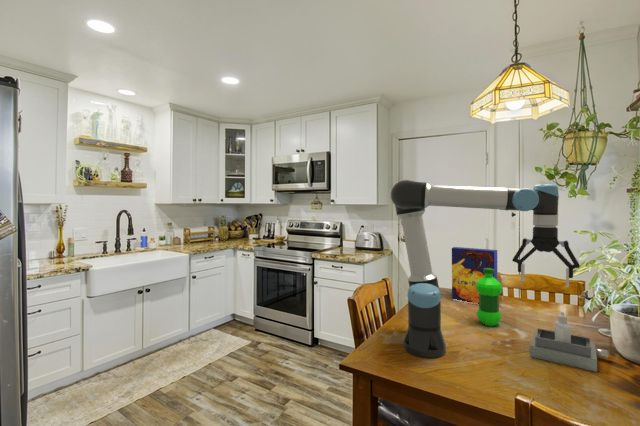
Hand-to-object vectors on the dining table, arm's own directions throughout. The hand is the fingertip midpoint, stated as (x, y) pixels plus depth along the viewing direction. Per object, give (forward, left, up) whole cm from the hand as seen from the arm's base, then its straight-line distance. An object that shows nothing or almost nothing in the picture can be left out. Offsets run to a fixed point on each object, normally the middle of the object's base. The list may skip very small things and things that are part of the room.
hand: (544, 283), depth 119 cm
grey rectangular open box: (-2, -7, -24) cm, 25 cm away
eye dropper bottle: (-4, -6, -21) cm, 22 cm away
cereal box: (+46, +35, -25) cm, 63 cm away
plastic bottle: (+16, +22, -25) cm, 36 cm away
